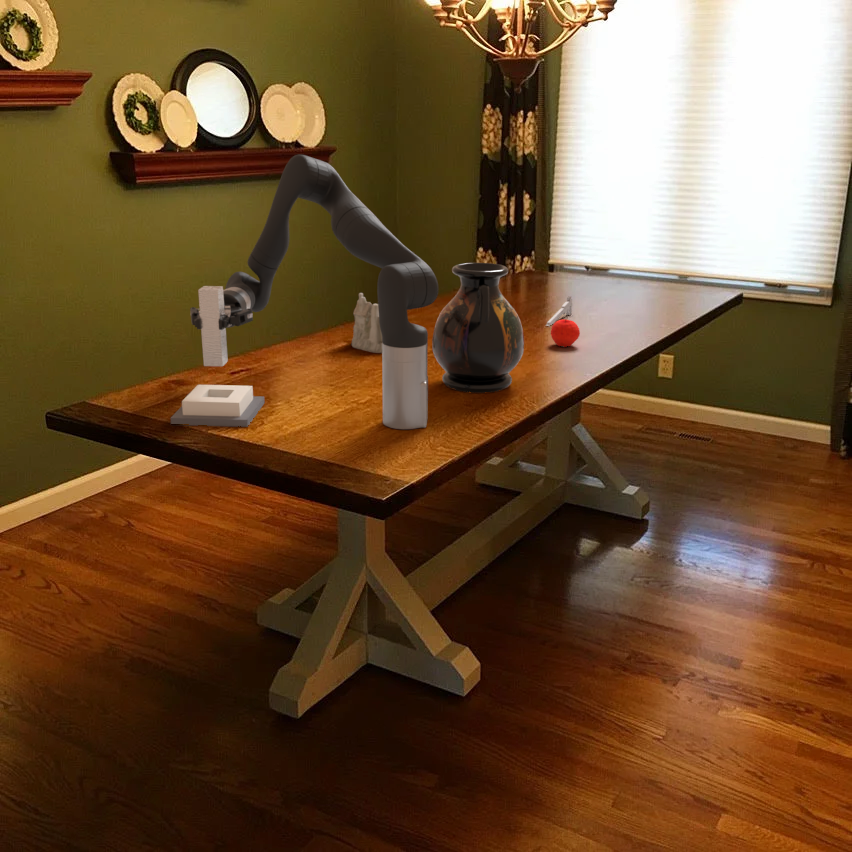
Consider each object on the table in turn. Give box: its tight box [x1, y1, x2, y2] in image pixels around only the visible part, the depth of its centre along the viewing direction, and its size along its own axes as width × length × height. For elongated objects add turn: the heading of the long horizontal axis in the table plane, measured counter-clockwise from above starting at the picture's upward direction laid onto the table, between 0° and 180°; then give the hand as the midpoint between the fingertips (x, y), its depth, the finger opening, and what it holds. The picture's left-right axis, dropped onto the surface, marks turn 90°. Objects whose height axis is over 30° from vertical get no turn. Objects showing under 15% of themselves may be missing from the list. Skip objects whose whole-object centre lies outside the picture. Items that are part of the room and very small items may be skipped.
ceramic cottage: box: [351, 292, 382, 354], centre depth 255 cm, size 16×16×15 cm
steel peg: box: [197, 285, 229, 367], centre depth 194 cm, size 4×4×16 cm
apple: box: [550, 319, 581, 348], centre depth 256 cm, size 8×8×7 cm
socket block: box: [170, 384, 265, 428], centre depth 199 cm, size 16×16×4 cm
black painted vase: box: [431, 262, 525, 394], centre depth 217 cm, size 22×22×28 cm
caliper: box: [545, 295, 573, 327], centre depth 286 cm, size 20×1×6 cm, turn 152°
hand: (209, 324), depth 191 cm, fingers closed on steel peg, 4 cm apart
